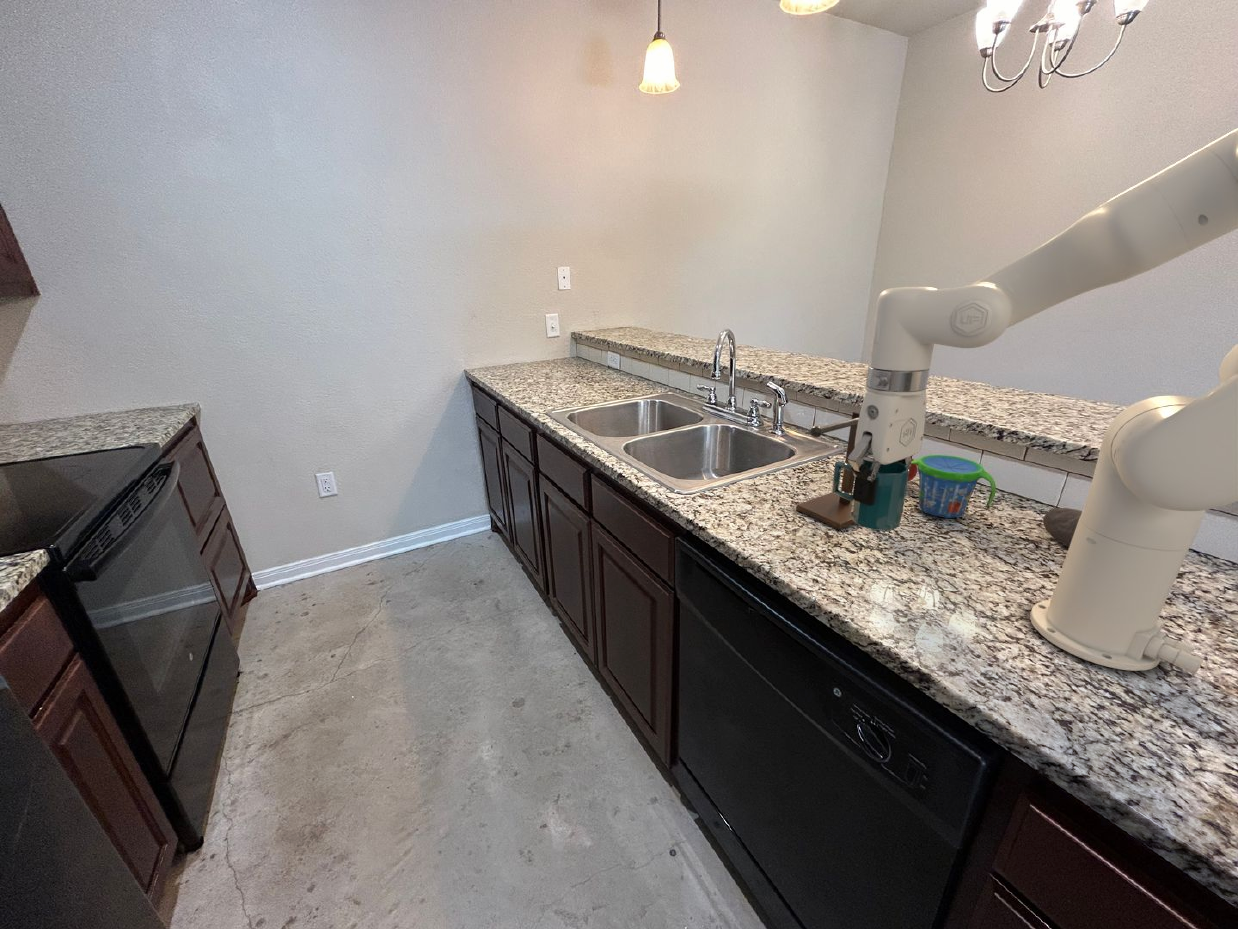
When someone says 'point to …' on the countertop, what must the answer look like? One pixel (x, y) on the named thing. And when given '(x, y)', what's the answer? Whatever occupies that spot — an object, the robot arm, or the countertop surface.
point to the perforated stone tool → (1062, 523)
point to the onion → (912, 471)
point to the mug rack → (833, 506)
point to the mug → (878, 496)
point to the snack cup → (948, 484)
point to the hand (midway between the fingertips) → (878, 495)
